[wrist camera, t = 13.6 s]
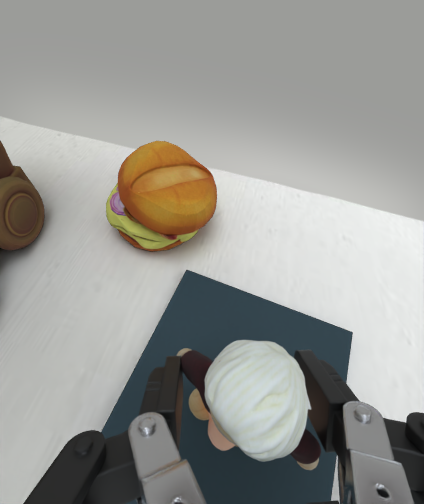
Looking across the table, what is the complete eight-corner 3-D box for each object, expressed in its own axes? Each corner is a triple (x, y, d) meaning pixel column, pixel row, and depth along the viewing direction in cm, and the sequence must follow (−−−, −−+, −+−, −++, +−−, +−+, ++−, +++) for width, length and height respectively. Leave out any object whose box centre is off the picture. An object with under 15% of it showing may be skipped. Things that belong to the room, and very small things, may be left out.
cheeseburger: (142, 174, 34) (146, 102, 26) (217, 216, 34) (244, 158, 26) (90, 232, 29) (73, 166, 21) (177, 281, 29) (196, 235, 21)
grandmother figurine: (163, 417, 18) (95, 398, 7) (190, 360, 20) (169, 277, 9) (278, 482, 16) (418, 585, 5) (296, 412, 18) (425, 386, 7)
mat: (52, 529, 17) (48, 532, 17) (186, 272, 27) (186, 269, 27) (302, 687, 14) (305, 697, 14) (349, 334, 24) (353, 332, 24)
